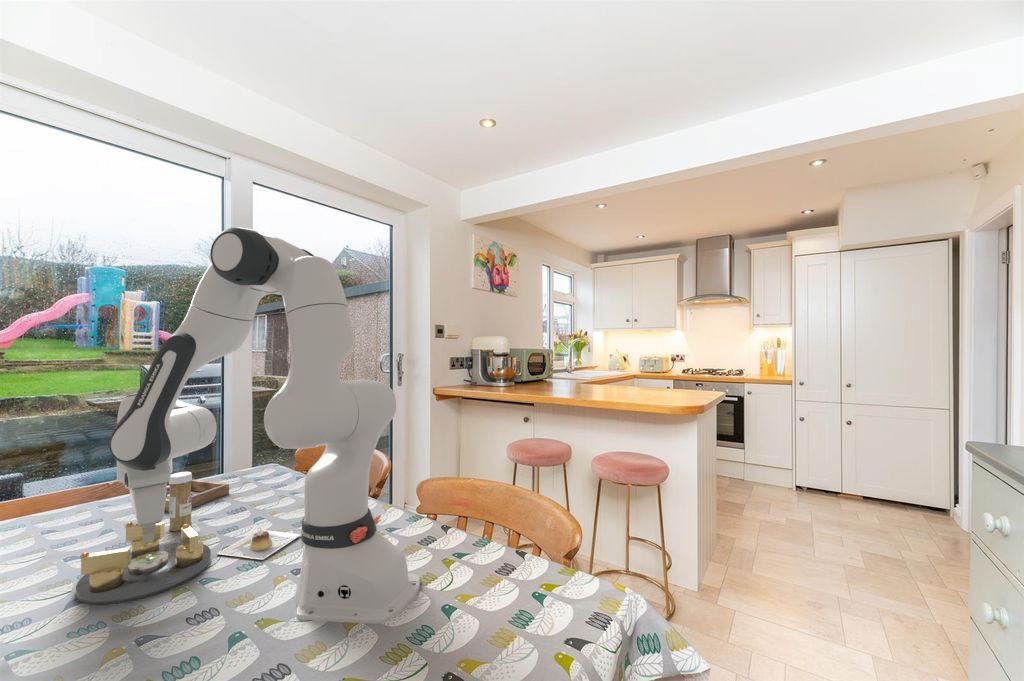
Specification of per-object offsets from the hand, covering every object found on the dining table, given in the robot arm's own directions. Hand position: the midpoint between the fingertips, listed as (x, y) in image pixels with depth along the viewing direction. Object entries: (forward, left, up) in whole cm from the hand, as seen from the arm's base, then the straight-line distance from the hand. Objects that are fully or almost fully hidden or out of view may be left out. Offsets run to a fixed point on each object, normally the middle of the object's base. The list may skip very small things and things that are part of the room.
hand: (145, 533), depth 88 cm
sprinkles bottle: (+10, -15, -6) cm, 19 cm away
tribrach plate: (-6, +3, -6) cm, 9 cm away
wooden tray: (+27, -29, -6) cm, 40 cm away
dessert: (-17, -13, -7) cm, 22 cm away
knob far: (0, 0, -4) cm, 4 cm away
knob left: (-6, +10, -4) cm, 13 cm away
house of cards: (+31, -28, -7) cm, 42 cm away
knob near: (-12, 0, -4) cm, 13 cm away
